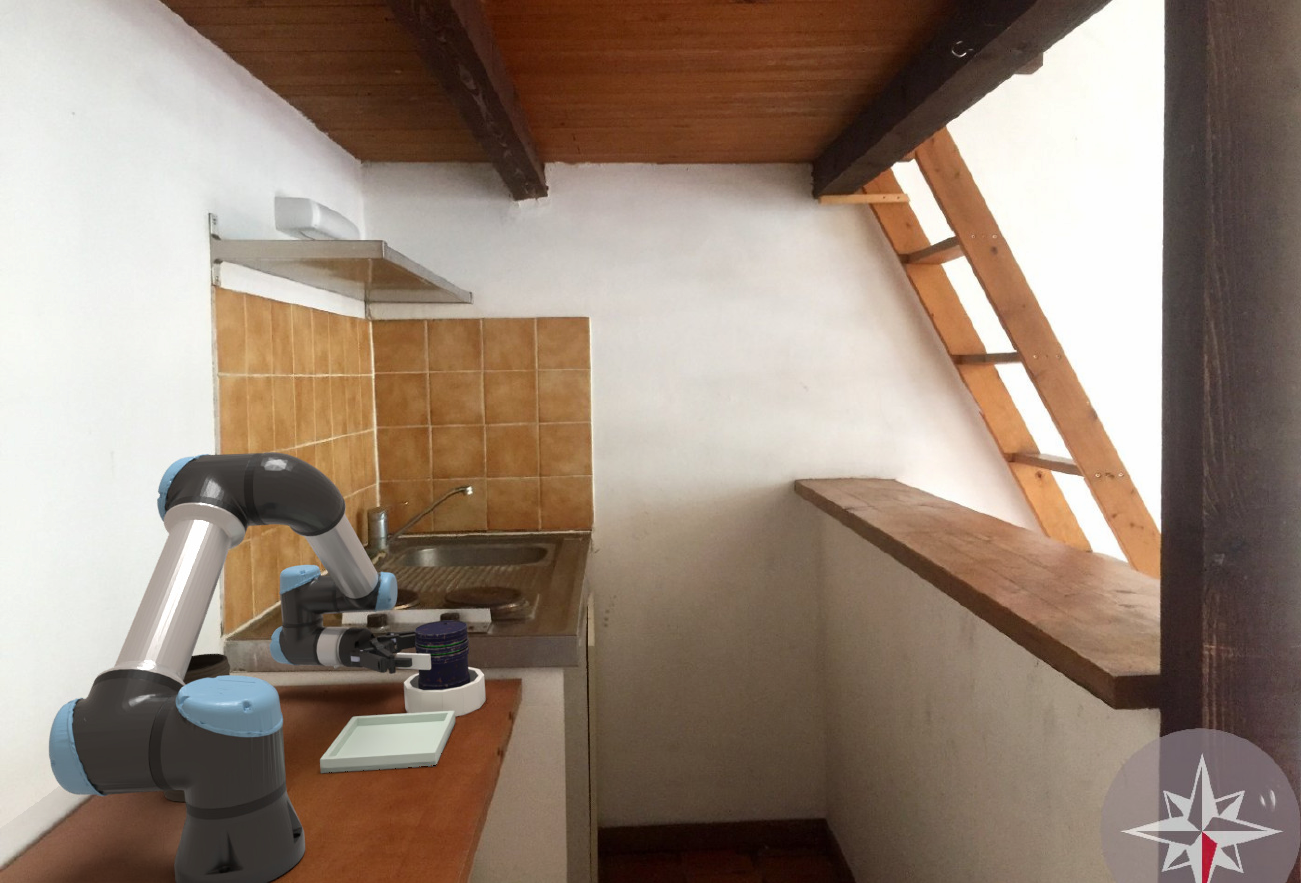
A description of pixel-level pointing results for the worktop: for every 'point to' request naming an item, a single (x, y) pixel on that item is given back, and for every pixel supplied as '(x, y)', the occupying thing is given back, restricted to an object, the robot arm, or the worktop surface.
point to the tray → (389, 742)
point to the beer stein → (198, 670)
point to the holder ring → (446, 696)
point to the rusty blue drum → (443, 654)
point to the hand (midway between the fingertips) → (447, 650)
